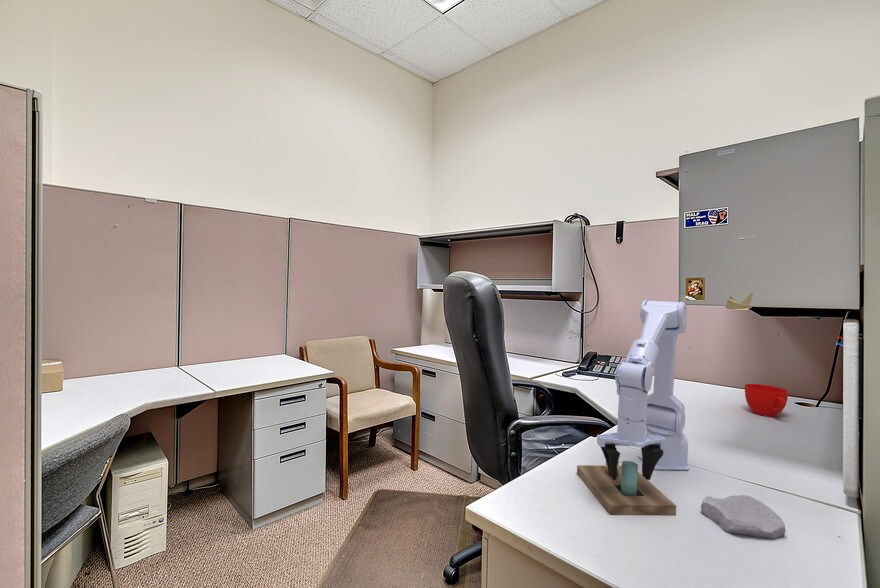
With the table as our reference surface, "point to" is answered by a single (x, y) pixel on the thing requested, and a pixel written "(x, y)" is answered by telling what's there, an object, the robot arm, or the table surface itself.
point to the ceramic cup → (765, 399)
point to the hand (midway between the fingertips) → (629, 477)
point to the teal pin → (629, 478)
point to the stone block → (743, 516)
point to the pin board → (613, 499)
